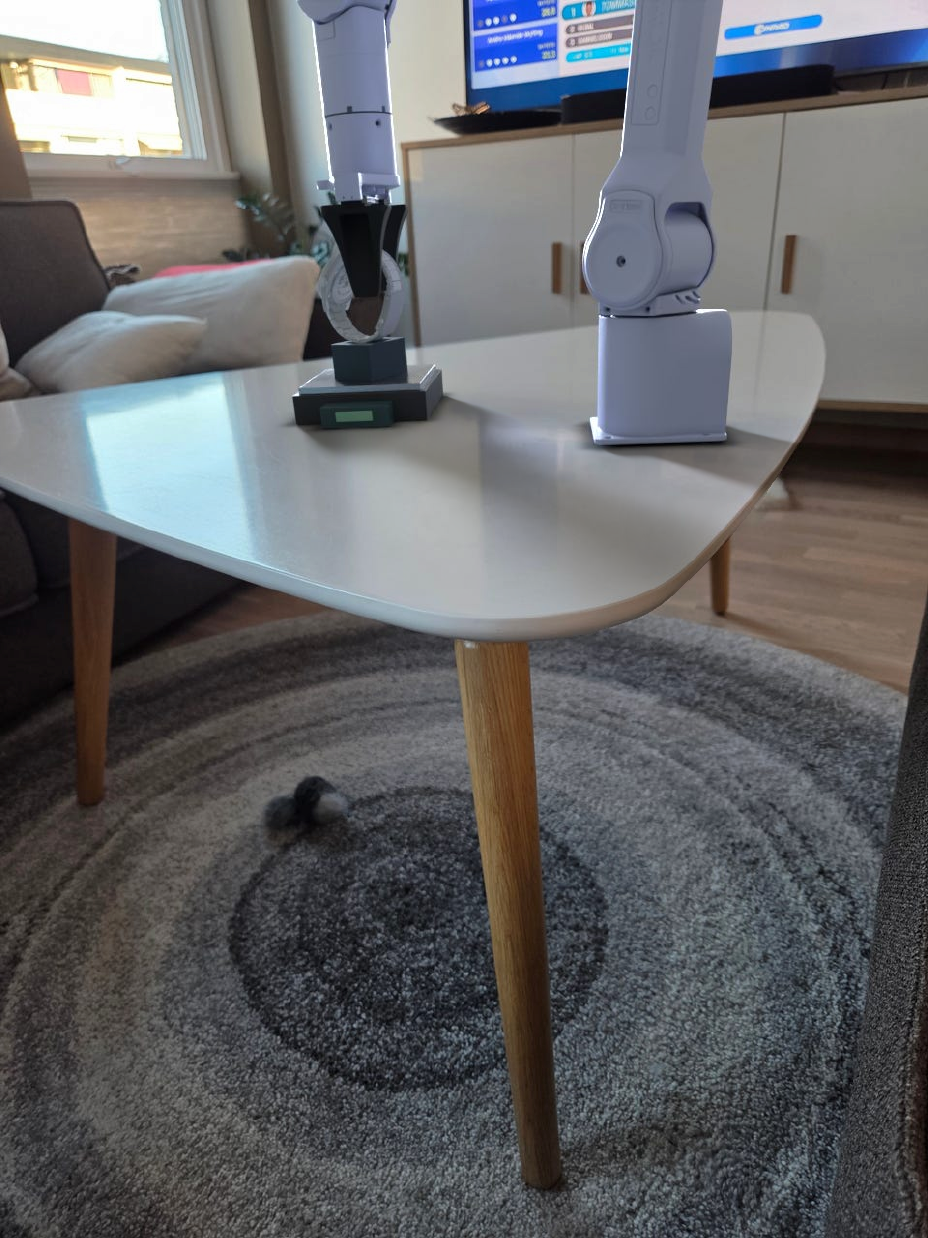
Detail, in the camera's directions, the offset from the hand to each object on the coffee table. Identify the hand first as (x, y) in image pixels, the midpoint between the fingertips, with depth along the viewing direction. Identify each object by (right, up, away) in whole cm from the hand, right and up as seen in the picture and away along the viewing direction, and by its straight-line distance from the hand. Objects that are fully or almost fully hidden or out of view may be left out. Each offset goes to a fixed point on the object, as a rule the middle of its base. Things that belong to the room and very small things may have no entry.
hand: (375, 293), depth 73 cm
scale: (-1, -10, +4) cm, 10 cm away
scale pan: (-1, -7, +4) cm, 8 cm away
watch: (-1, -7, +3) cm, 7 cm away
